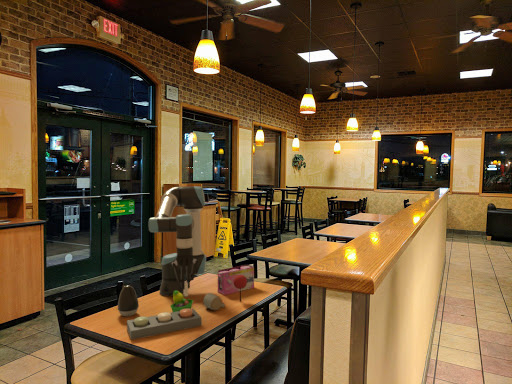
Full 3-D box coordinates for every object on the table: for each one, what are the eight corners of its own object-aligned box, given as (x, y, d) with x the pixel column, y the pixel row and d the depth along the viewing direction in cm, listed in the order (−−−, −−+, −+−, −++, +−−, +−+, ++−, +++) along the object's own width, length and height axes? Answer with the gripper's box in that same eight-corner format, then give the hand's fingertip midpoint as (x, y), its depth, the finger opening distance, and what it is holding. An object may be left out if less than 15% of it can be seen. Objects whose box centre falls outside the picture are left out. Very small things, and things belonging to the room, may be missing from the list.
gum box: (222, 296, 216) (222, 273, 216) (215, 292, 222) (215, 270, 222) (254, 287, 231) (254, 266, 230) (247, 285, 237) (246, 264, 236)
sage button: (133, 323, 169) (133, 318, 169) (146, 320, 172) (146, 315, 171) (135, 328, 164) (135, 322, 163) (149, 325, 166) (149, 320, 166)
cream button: (156, 319, 174) (156, 313, 173) (169, 316, 176) (169, 311, 176) (159, 323, 168) (159, 318, 168) (172, 321, 171) (172, 315, 171)
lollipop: (245, 304, 202) (244, 277, 201) (231, 303, 204) (231, 276, 203) (249, 299, 209) (248, 273, 208) (236, 298, 211) (235, 272, 210)
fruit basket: (182, 317, 184) (182, 295, 184) (167, 315, 187) (167, 293, 187) (194, 309, 195) (193, 288, 194) (179, 307, 198) (179, 287, 198)
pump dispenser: (133, 309, 196) (132, 281, 195) (142, 314, 189) (141, 285, 188) (114, 314, 189) (113, 285, 188) (123, 320, 182) (122, 290, 181)
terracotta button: (178, 314, 178) (178, 309, 178) (190, 312, 181) (190, 307, 181) (181, 319, 173) (181, 314, 173) (194, 316, 176) (194, 311, 175)
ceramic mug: (211, 312, 190) (211, 298, 190) (203, 308, 196) (202, 294, 196) (228, 308, 197) (228, 294, 196) (219, 304, 203) (219, 290, 203)
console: (127, 329, 171) (126, 320, 171) (193, 316, 185) (193, 308, 185) (131, 340, 159) (130, 331, 159) (201, 325, 174) (201, 317, 174)
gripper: (173, 249, 169) (174, 299, 170) (200, 246, 175) (201, 295, 176) (169, 246, 176) (170, 295, 177) (195, 244, 182) (196, 291, 182)
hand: (185, 295), depth 176 cm, fingers closed
